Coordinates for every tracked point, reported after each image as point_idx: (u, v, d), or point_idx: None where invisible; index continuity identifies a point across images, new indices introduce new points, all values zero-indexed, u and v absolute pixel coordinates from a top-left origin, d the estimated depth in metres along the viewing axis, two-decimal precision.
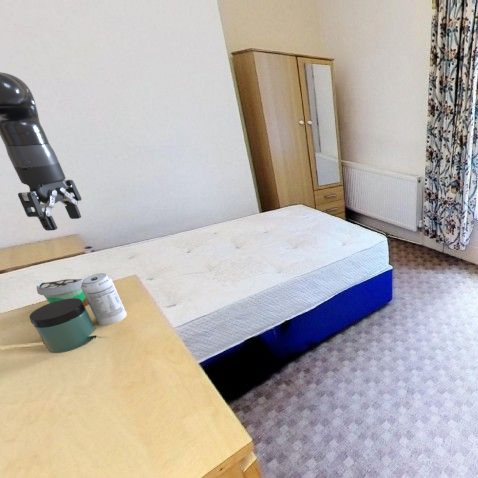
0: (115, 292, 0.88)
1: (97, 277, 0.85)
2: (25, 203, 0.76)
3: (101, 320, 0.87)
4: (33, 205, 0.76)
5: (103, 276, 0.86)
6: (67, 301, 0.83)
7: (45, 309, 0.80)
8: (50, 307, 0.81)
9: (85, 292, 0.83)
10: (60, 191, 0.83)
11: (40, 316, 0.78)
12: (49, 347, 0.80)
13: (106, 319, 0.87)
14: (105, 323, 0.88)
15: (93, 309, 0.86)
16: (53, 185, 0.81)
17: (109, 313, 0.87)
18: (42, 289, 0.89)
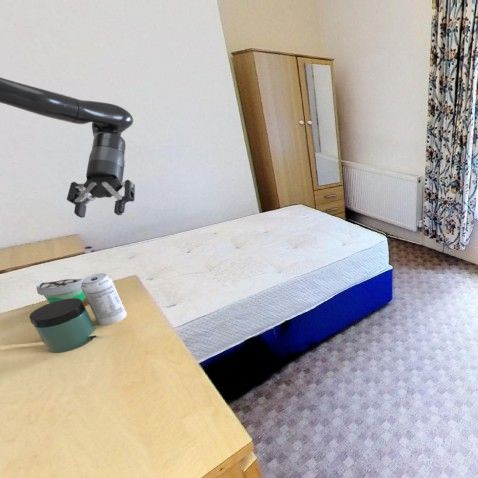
0: (115, 292, 0.88)
1: (97, 277, 0.85)
2: (130, 188, 0.93)
3: (101, 320, 0.87)
4: (133, 192, 0.94)
5: (103, 276, 0.86)
6: (67, 301, 0.83)
7: (45, 309, 0.80)
8: (50, 307, 0.81)
9: (85, 292, 0.83)
10: None
11: (40, 316, 0.78)
12: (49, 347, 0.80)
13: (106, 319, 0.87)
14: (105, 323, 0.88)
15: (93, 309, 0.86)
16: None
17: (109, 313, 0.87)
18: (42, 289, 0.89)
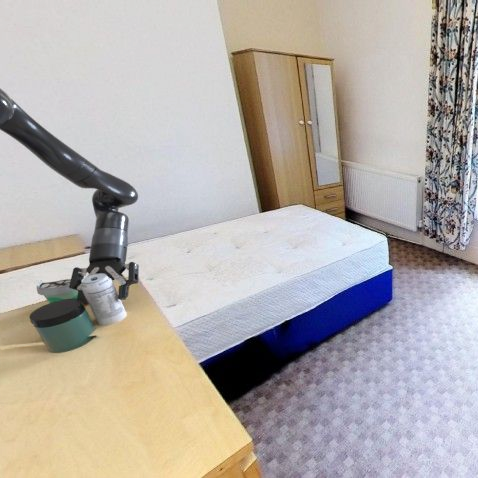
0: (115, 292, 0.88)
1: (97, 277, 0.85)
2: (134, 270, 0.91)
3: (101, 320, 0.87)
4: (137, 273, 0.92)
5: (103, 276, 0.86)
6: (67, 301, 0.83)
7: (45, 309, 0.80)
8: (50, 307, 0.81)
9: (85, 292, 0.83)
10: None
11: (40, 316, 0.78)
12: (49, 347, 0.80)
13: (106, 319, 0.87)
14: (105, 323, 0.88)
15: (93, 309, 0.86)
16: None
17: (109, 313, 0.87)
18: (42, 289, 0.89)
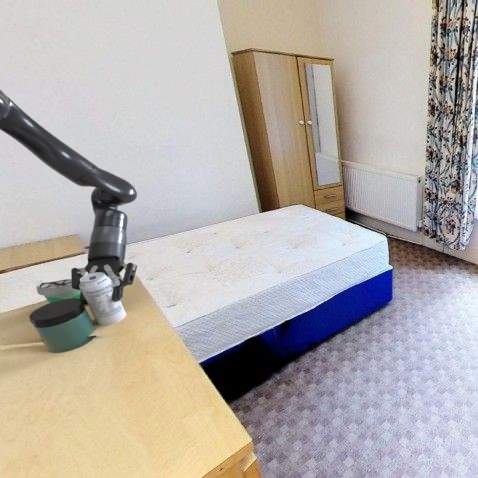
0: None
1: (96, 276, 0.85)
2: (131, 271, 0.91)
3: (99, 319, 0.87)
4: (134, 274, 0.92)
5: (101, 275, 0.85)
6: (68, 301, 0.83)
7: (45, 309, 0.80)
8: (50, 307, 0.81)
9: (83, 291, 0.83)
10: None
11: (39, 316, 0.78)
12: (49, 347, 0.80)
13: (104, 318, 0.87)
14: (104, 322, 0.87)
15: (92, 308, 0.85)
16: None
17: (108, 312, 0.87)
18: (42, 289, 0.89)
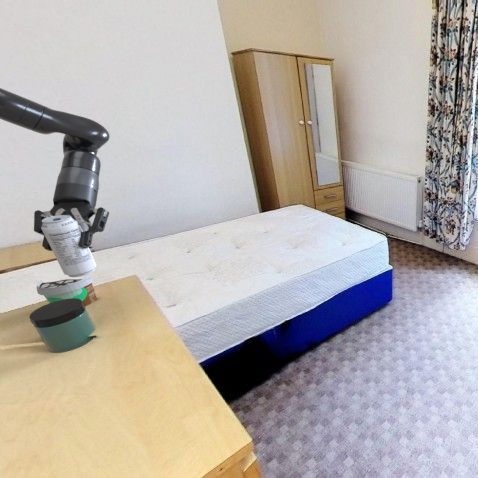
0: None
1: (61, 218, 0.77)
2: (102, 217, 0.82)
3: (65, 267, 0.79)
4: (105, 221, 0.83)
5: (67, 217, 0.77)
6: (68, 301, 0.83)
7: (46, 309, 0.80)
8: (51, 307, 0.81)
9: (46, 233, 0.75)
10: None
11: (40, 316, 0.78)
12: (49, 347, 0.80)
13: (70, 265, 0.79)
14: (70, 270, 0.79)
15: (56, 254, 0.77)
16: None
17: (75, 259, 0.79)
18: (42, 289, 0.89)
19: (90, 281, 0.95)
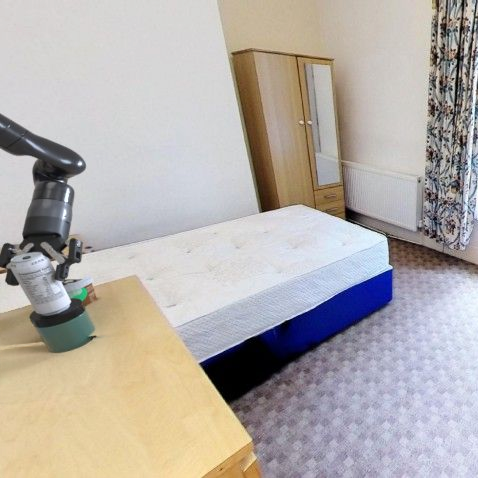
0: (53, 274, 0.77)
1: (31, 256, 0.74)
2: (76, 247, 0.80)
3: (36, 306, 0.76)
4: (81, 251, 0.81)
5: (38, 255, 0.75)
6: None
7: None
8: None
9: (15, 273, 0.72)
10: None
11: (40, 316, 0.78)
12: (49, 347, 0.80)
13: (42, 304, 0.76)
14: (42, 309, 0.77)
15: (26, 293, 0.75)
16: None
17: (46, 298, 0.76)
18: None
19: (90, 281, 0.95)
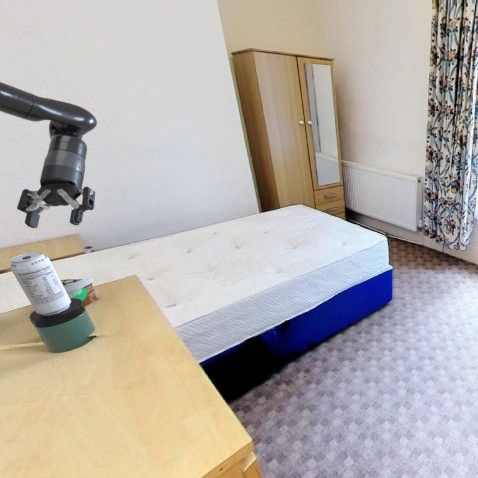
0: (53, 274, 0.77)
1: (31, 256, 0.74)
2: (90, 195, 0.86)
3: (36, 306, 0.76)
4: (93, 199, 0.87)
5: (38, 255, 0.75)
6: None
7: None
8: None
9: (15, 273, 0.72)
10: None
11: (40, 316, 0.78)
12: (49, 347, 0.80)
13: (42, 304, 0.76)
14: (42, 309, 0.77)
15: (26, 293, 0.75)
16: None
17: (46, 298, 0.76)
18: None
19: (90, 281, 0.95)
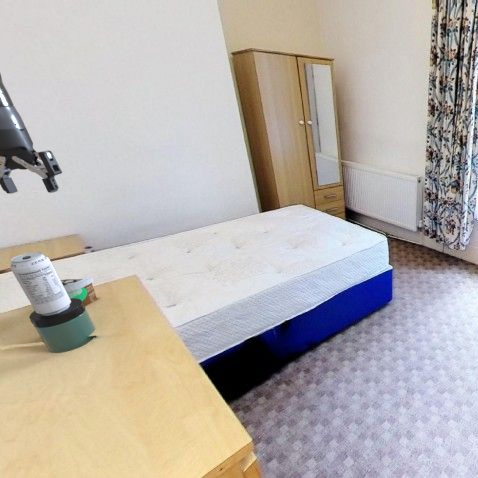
0: (53, 274, 0.77)
1: (31, 256, 0.74)
2: (50, 161, 0.80)
3: (36, 306, 0.76)
4: (56, 162, 0.82)
5: (38, 255, 0.75)
6: None
7: None
8: None
9: (15, 273, 0.72)
10: None
11: (40, 316, 0.78)
12: (49, 347, 0.80)
13: (42, 304, 0.76)
14: (42, 309, 0.77)
15: (26, 293, 0.75)
16: None
17: (46, 298, 0.76)
18: None
19: (90, 281, 0.95)
